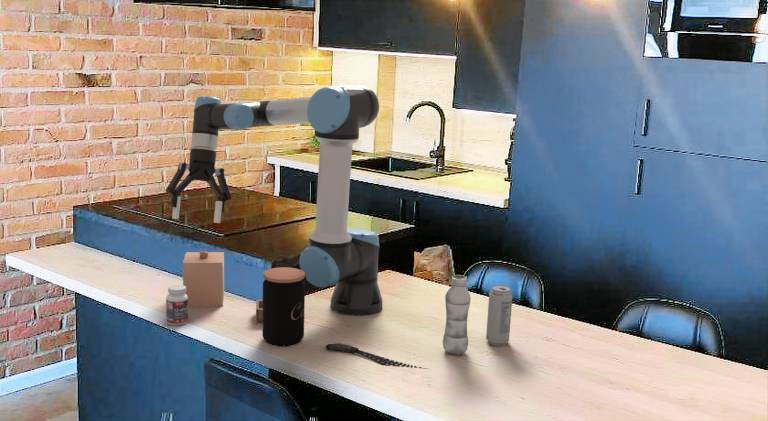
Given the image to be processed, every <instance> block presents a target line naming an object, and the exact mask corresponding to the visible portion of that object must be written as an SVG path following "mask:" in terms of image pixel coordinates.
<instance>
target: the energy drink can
mask: <svg viewBox="0 0 768 421" xmlns="http://www.w3.org/2000/svg"><path fill="white" fill-rule="evenodd" d="M512 307H513V293H512V290H511V287H510V286H506V285H500V284H498V285H493V286H492V287H491V290H490V291H489V293H488V306H487V308H488V309H487V319H486V320H487V321H486V333H485V335H486V336H485V339H486V340H487V343H488V344H489V345H492V346H496V347H503V346H506V345H507V344H508V342H510V334H511V333H510V332H511V321H512Z"/></svg>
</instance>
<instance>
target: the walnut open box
mask: <svg viewBox="0 0 768 421" xmlns="http://www.w3.org/2000/svg"><path fill="white" fill-rule="evenodd" d="M255 324H263V299H256V300H255Z"/></svg>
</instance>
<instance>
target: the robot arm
mask: <svg viewBox="0 0 768 421" xmlns="http://www.w3.org/2000/svg"><path fill="white" fill-rule="evenodd" d="M379 102H380V101H379V98H378V96H377V94H376V93H375V92H374V90H372V88H370V87H368V86H366V85H362V84H348V85H347V84H346V85H337V84H336V85H329V86H325V87H324V86H323V87H321V88H320V89H317V90H316V91H315V92H314V93H313V94H312V95H311V96H305V97H294V98H293V97H292V98H285V99H284V98H283V99H282V98H281V99H274V100H262V101H261V100H260V101H252V102H249V101H248V102H231V103H222V100H221V99H220V98H218V97H215V96H210V95H209V96H205V95H204V96H203V95H200V96H197V98H196V99H195V104H194V109H193V122H192V133H191V144H190V147H192V148H191V149H190V150H189V163H188V164H187V163H186V162H179V164H178V166H177V171H176V172H175V174H174V175H173V177H172V179H171V180H170V182H169V184H168V186H167V187H166V189H165V192H166V194H168V195H170V196H171V198H170V200H171V201H170V207H171V208H172V217H171V219H172V220H179V219H180V208H181V200H182V197H181V196H179V195H180V194H181V193H183V191H184V190H185V189H186V188H187V187H188V186H189V185H190V184H191V183H192V182H193V181H201V182H206V183H207V184H208V185H209V187H210V189H211V190H212V192H213V194H214V195H215V197H216V199H217V200H216V201H215V205H214V207H215V208H214V216H213V223H215V224H216V223H217V224H221V221H222V220H221V219H222V213H224V212H225V203H226V202H227V201H230V200H232V196H231V193H230V190H229V189H230V188H229V186H228V184H227V180H226V177H225V169H224V168H222V167H218V168H216V167H215V165H216V160H217V159H216V158H217V152H216V150H217V148H218V138H219V131H220V130H222V131H223V130H230V131H231V130H232V131H233V130H234V131H242V130H246V129H250V128H260V127H271V126H287V125H301V124H309V125H310V126H311V129H313V130H314V138H316V140H317V141H318V142H319V153H318V155H319V156H318V174H317V188H316V190H317V192H316V210H315V212H316V213H315V229H314V230H313V231H312V232H311V233H310V234H309V235H308V236H309V239H308V246H306V247H305V249H304V250H303V251H302V252H301V254H300V256H299V261H298V263H299V268H300V270H302V271H304V273H305V277H304V278H306V281H308V282H309V284H312V285H313V286H315V287H317V288H327V287H332V286H334V289H333V292H332V294H331V298H330V308H331V309H332V310H333V311H334V312H336V313H338V314H343V315H349V316H369V315H374V314H376V313H379V312H380V311H382V309H383V303H384V302H383V297H382V294H381V293H382V292H381V290H380V287H379V283H378V274H379V272H378V271H379V254H380V253H379V252H380V242H379V241H380V240H379V239H380V237H379V235H378V234H377V233H376V232H375V231H372V230H367V229H362V228H361V229H360V228H349V227H348V220H349V217H348V216H349V202H350V201H349V200H350V188H351V172H352V171H351V170H352V158H353V155H352V154H353V153H352V152H353V145H354V144H355V143H356V142H357V141H359V136H360V129H361V128H364V127H367V126H369V125H370V124H373V123H374V121H375V120H376V118H377V117H378V115H379V112H380V103H379ZM187 170H188V172H189V173H188V174H187V175H186V176H185V178H184V179H183V180H182V181H181V179H182V178H183V177H184V174H185V173H186V172H187ZM214 174H215V175H216V178H217V182H218V183H217V182H216V179H215V177H214Z"/></svg>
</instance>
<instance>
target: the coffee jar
mask: <svg viewBox="0 0 768 421" xmlns="http://www.w3.org/2000/svg"><path fill="white" fill-rule="evenodd" d="M262 276H263V279H264V280H263V282H262V300H263V323H262V331H261V332H262V337H263V340H264V342H265V343H266V344H268V345H270V346H274V347H290V346H291V347H292V346H296V345H298V344H299V343H301V341H302V339H304V336H305V302H306V301H305V297H306V296H305V294H306V290H305V289H306V283H305V280H304V279H305V278H306V277H305V273H304V271H302V270H301V269H299V268H295V267H288V266H287V267H283V266H282V267H279V266H278V267H273V268H269V269H268V268H267V269H266V270H264V271H263V272H262Z"/></svg>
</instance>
